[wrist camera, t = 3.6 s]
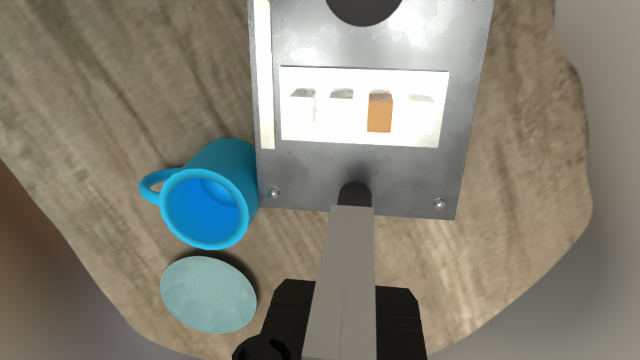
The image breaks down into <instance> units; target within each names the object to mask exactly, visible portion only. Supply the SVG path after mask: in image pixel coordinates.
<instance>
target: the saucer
mask: <svg viewBox="0 0 640 360" xmlns="http://www.w3.org/2000/svg"><path fill="white" fill-rule="evenodd" d="M160 291H161V296H162V299H163V301H164V303H165V305H166V307H167V308H168V310H169V311H170V312H171V313H172V314H173V315H174V316H175V317H176V318H177V319H179V320H180V321H181V322H183V323H184V324H186V325H188V326H190V327H192V328H194V329H197V330H200V331H203V332H208V333H217V334H218V333H219V334H221V333H228V332H233V331H235V330H238V329H240V328H242V327H244V326H245V325H246V324H248V323H249V321H250V320H251V319H252V317H253V316H254V313H255V310H256V306H257V300H256V295H255V292H254V289H253V287H252V285H251V284H250V282H249V281H248V279H247V278H246V277H245V276H244V275H243V274H242V273H241V272H240V271H238V270H237V269H236V268H234V267H233V266H231V265H230V264H228V263H226V262H224V261H221V260H218V259H215V258H211V257H204V256H192V257H186V258H183V259H180V260H178V261H176V262H174V263H172V264H171V265H170V266H169V267H168V268H167V269H166V270H165V271H164V273H163V275H162V278H161V282H160Z"/></svg>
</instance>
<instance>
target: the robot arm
mask: <svg viewBox="0 0 640 360" xmlns="http://www.w3.org/2000/svg"><path fill="white" fill-rule="evenodd" d="M232 360H427V354H426V348H425V342H424V336H423V332H422V324H421V320H420V311H419V305H418V301H417V300H416V298H415V297H414V296H413V294H412V293H411V291H410V290H409V289H408V288H398V287H387V286H375V255H374V208H373V207H359V206H344V205H331V208H330V213H329V218H328V223H327V228H326V233H325V239H324V244H323V249H322V254H321V259H320V264H319V269H318V274H317V279H316V281H306V280H295V279H285V280H284V281H283V282H282V283H281V284H280V285H279V286H278V287H277V288H276V289H275V291H274V294H273V297H272V300H271V303H270V306H269V309H268V312H267V316H266V318H265V321H264V324H263V327H262V330H261V333H260V334H259V335H256V336H253V337H250V338H248V339H246V340H245V341H244V342H242V343H241V344H240V345H238V347H237V348H236V350H235V351H234V353H233V354H232Z"/></svg>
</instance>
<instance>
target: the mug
mask: <svg viewBox="0 0 640 360" xmlns="http://www.w3.org/2000/svg"><path fill="white" fill-rule="evenodd" d="M166 180H167V181H166ZM163 181H166V182H165V183H164V185H163V187H162V189H161V192H160V193H158V192H155V191H152V190H151V189H150V187H151V186H153V185H154V184H156V183H159V182H163ZM139 192H140V194H141V196H143V197H144V198H145V199H146V200H147V201H149V202H151V203H154V204H156V205H159V208H160V211H161V215H162V218H163V220H164V221H165V223H166V224H167V226H168V228H169V229H170V230H171V231H172V232H173V233H174V234H175V235H176V236H177V237H178V238H179V239H180V240H182V241H184V242H186V243H188V244H189V245H191V246H193V247H197V248H201V249H205V250H221V249H224V248H227V247H230V246H232V245H234V244H235V243H236V242H238V241H239V240H240V239H241V238H242V236H243V235H244V233H245V232H246V230H247V228H248V226H249V225H250V223H251V221H252V219H253V217H254V215H255V214H256V212H257V210H258V208H259V200H258V182H257V165H256V148H255V147H253V146H252V145H250V144H248V143H247V142H245V141H242V140H238V139H234V138H223V139H218V140H216V141H213V142H211V143H209V144H208V145H207V146H206V147H205V148H203V149H202V150H201V151H200V152H199V153H198V154H196V155H195V156H194V157H193V158H192V159H191V160H190V161H188V162H187V163H186V164H185V165H184V166H183V167H181V168H170V169H163V170H160V171H156V172H152V173H151V174H149V175H147V176H145V177H144V178H143V179H142V180H141V181H140V183H139Z"/></svg>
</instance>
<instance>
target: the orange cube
mask: <svg viewBox="0 0 640 360" xmlns="http://www.w3.org/2000/svg"><path fill="white" fill-rule="evenodd" d="M393 104H394V101H393V97H392V95H388V94H369V98H368V113H367V132H372V133H391V125H392V114H393Z"/></svg>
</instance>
